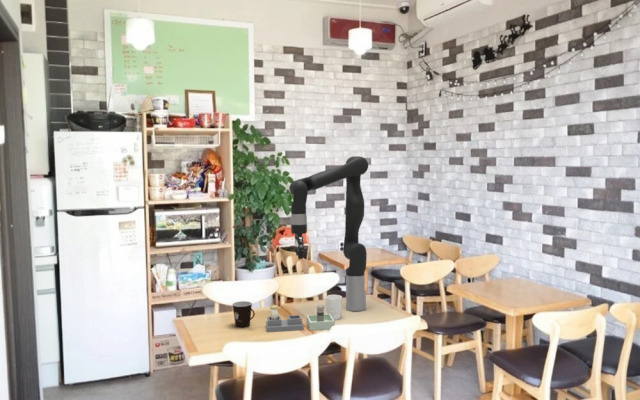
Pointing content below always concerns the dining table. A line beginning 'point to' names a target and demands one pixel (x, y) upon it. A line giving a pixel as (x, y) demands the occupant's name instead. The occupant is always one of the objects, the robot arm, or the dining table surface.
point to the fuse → (274, 312)
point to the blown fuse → (320, 313)
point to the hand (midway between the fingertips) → (299, 257)
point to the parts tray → (320, 325)
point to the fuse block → (285, 324)
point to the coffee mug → (242, 313)
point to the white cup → (334, 306)
